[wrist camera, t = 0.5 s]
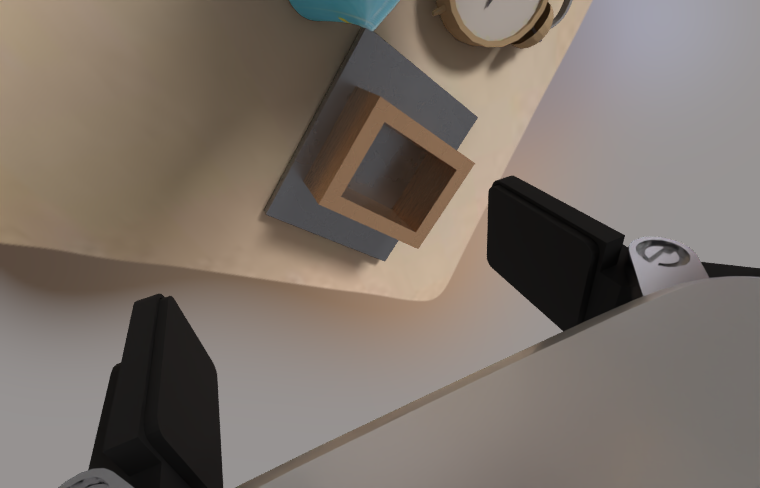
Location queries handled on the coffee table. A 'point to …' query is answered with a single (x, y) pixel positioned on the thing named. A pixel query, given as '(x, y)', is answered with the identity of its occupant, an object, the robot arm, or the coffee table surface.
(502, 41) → the alarm clock
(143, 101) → the coffee table surface
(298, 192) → the wooden box on base
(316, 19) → the tube
